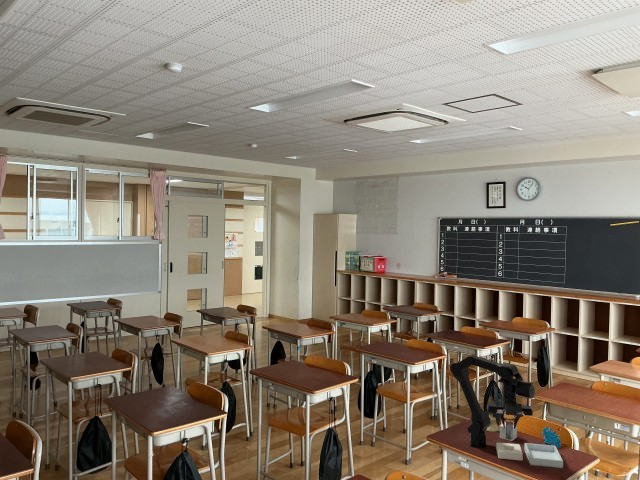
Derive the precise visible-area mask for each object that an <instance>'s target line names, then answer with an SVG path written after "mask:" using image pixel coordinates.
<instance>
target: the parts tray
mask: <svg viewBox="0 0 640 480" xmlns="http://www.w3.org/2000/svg"><path fill="white" fill-rule="evenodd" d="M523 448H524V449H523V450H524V452H525V455H526V457H527V460H528V463H529V465H530V466H536V467H546V468H557V469H564V460H563V458H562V457H561V454H560V453H559V450H558V448H556V445H555V446H552V444H551V445H550V444H540V443H539V444H537V443H526V442H524V445H523Z"/></svg>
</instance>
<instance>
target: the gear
mask: <svg viewBox="0 0 640 480" xmlns="http://www.w3.org/2000/svg"><path fill="white" fill-rule="evenodd" d="M556 434H557V432H556V430H553V429H552V427H548V426H546V427H544V428H542V432H541V435H543V436H544V437H543V440H544V441H543V443H544V444H546V443H547V445H550V444H551V445H552V446H556V448H557V449H560V448H559V447H562V444H561V443H562V440H561V439H560V437H561V434H558V435H556Z"/></svg>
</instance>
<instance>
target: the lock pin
mask: <svg viewBox="0 0 640 480" xmlns="http://www.w3.org/2000/svg"><path fill="white" fill-rule="evenodd" d="M504 421H505V422H506V439H508V440H507V441H509V440H512V439H513V424H514V422H515V419H514V417H513V416H504ZM506 439H505V440H506Z"/></svg>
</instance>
